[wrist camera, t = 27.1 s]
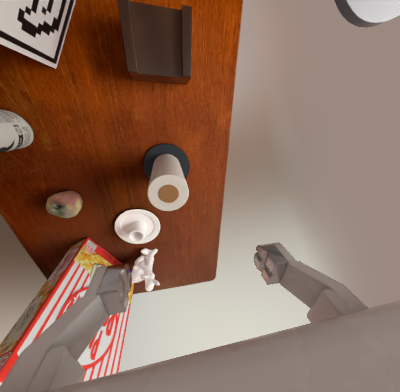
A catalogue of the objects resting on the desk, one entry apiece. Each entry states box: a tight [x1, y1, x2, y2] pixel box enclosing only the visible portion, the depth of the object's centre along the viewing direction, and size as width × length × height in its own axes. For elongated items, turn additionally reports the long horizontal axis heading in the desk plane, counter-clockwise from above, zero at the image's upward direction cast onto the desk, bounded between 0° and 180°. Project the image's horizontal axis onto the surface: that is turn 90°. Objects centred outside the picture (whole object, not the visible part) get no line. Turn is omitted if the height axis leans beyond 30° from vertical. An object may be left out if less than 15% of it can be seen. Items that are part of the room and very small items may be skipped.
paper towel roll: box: [148, 154, 189, 211], centre depth 31 cm, size 6×15×6 cm
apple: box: [46, 191, 82, 218], centre depth 34 cm, size 6×8×6 cm
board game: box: [0, 237, 134, 386], centre depth 35 cm, size 20×6×27 cm, turn 28°
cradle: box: [118, 0, 192, 85], centre depth 26 cm, size 10×8×7 cm
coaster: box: [143, 144, 189, 181], centre depth 38 cm, size 11×11×1 cm
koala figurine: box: [131, 248, 160, 291], centre depth 44 cm, size 8×7×12 cm
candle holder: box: [115, 209, 160, 244], centre depth 42 cm, size 12×12×4 cm
